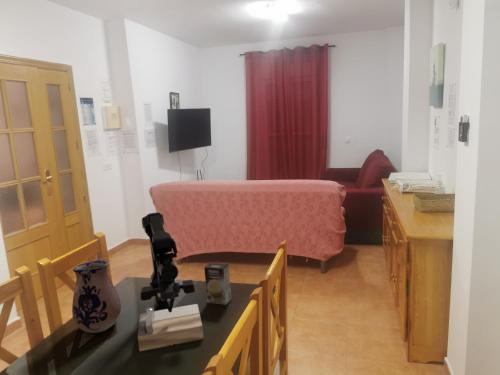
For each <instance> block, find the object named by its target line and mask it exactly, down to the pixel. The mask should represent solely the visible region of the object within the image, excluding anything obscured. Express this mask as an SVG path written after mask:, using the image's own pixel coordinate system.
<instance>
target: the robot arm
mask: <svg viewBox="0 0 500 375" xmlns="http://www.w3.org/2000/svg"><path fill="white" fill-rule="evenodd" d="M164 225H165V219H164V215H163V214H161V212H157V211H156V212H151V213H147V215H146V216H144V217H142V218H141V226H142V229H143V230H144V232H145V234H146V235H147V237H148V239H149V246H150V253H151V254H150V255H151V260H152V263H151V264H152V269H153V271H152V274H150V282H149V285H148V286H142V287H141V289H140V292H139V293H140V294H139V295H140V300H141V301H148V300H151V299H152V298H154V307H153V308H154V311H159V310H165V309H168V311H169V313H170V312H172V308H174V307H173V306H174V302H175V301H176V298H178V297H179V296H180V295H179V294H180V293H181V291H183V293H184V294H186V295H187V294H192V293H195V292H196V290H195V289H196V288H195V283H194V281H193V280H192V279H189V280H188V279H187V280H182V283H181V284H180V282H176V279H177V277H178V275H179V269H178V267H177V265H176V263H175V262H174V259H173V258H178V255H177V254H178V248H177V244H176V241H175V239H174V238H173V237H171V233H169V232H167V231H166V230H165V228H164Z"/></svg>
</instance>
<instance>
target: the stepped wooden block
mask: <svg viewBox="0 0 500 375" xmlns="http://www.w3.org/2000/svg"><path fill="white" fill-rule="evenodd" d="M202 323H203V322H202V318H201V314H200V313H199V314H194V315H189V316H183V317H178V318H172V319H166V320H161V321H155V322H153V333H150V334H147V328H146V323H145V320H142V321H140V320H138V326H137V327H138V331H137V341H138V342H137V343H138V350H139V352H143V351H144V352H145V351H148V350H152V349H159V348H163V347H168V346H169V345H170V346H173V345H174V344H175V345H179V344H185V343H189V342H194V341H201V340H204V332H203V330H204V329H203V328H204V327H203V324H202Z"/></svg>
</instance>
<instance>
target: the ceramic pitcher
mask: <svg viewBox="0 0 500 375" xmlns="http://www.w3.org/2000/svg"><path fill="white" fill-rule="evenodd" d="M108 267H109V262H108V261H105V259H104V258H98V259H97V260H93V261H86V262H83V263H82V264H79V265H77V266H75V267H73V268H72V271H73V272H74V273H75V279H76V281H75V286H74V292H73V297H72V304H71V309H72V310H71V313H72V318H73V321H74V323H75V324H76V325H77V327H78V328H79V329H80V330H81V331H84V332H87V333H89V334H90V333H91V334H96V333H102V332H105V331H107V330H108V329H110V328H111V327H112V326H113V325H114V324H115V323H116V322H117V320H118V319H119V316H120V314H121V312H122V311H121V309H122V305H121V304H122V303H121V299H120V297H119V294H118V292H117V289H116V288H115V286H114V284H113V282H112V280H111V279H110V277H109V270H108Z"/></svg>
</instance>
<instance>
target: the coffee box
mask: <svg viewBox="0 0 500 375" xmlns="http://www.w3.org/2000/svg"><path fill="white" fill-rule="evenodd" d="M203 270H204V280H205V291H206V300H207V302H206V303H208V304H214V305H215V304H217V305H226V306H227V304H228V303H229V302H230V300H232V290H231V278H230V265H229V263H226V262H225V263H224V262H211V261H209V263H208V264H206V265H205V266H204V269H203Z"/></svg>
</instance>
